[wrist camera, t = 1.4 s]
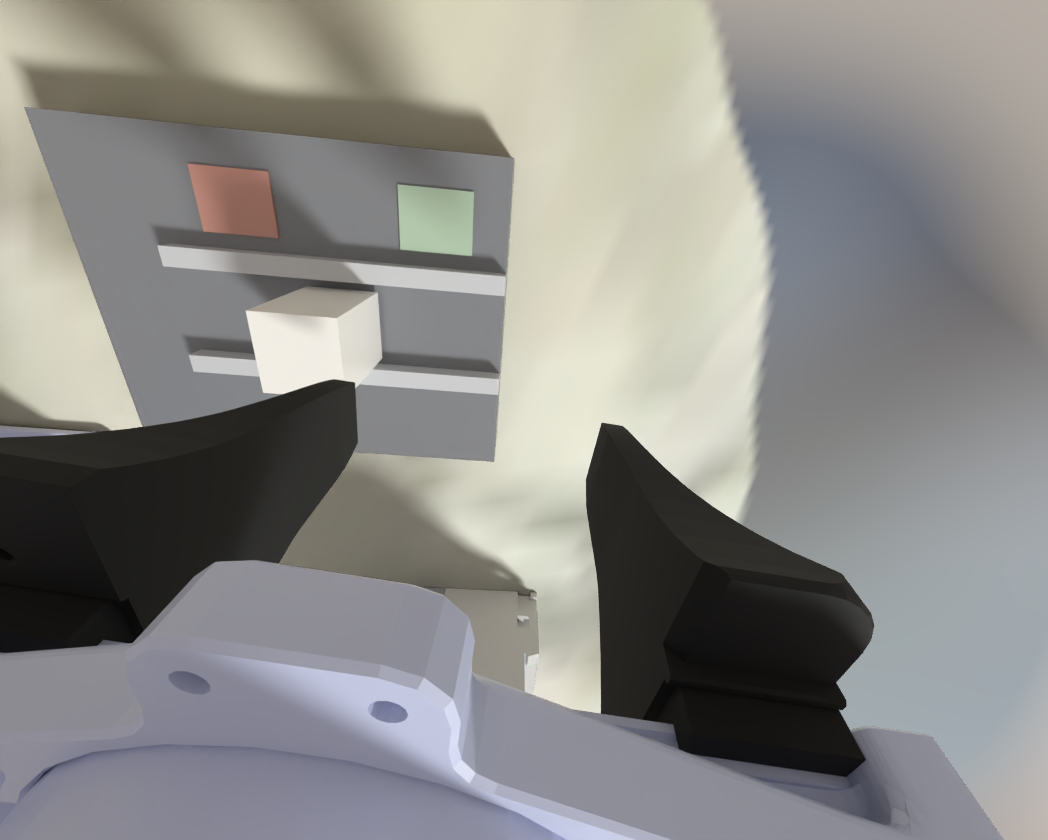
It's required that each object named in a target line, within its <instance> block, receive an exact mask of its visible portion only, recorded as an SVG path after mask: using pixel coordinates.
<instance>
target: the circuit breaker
mask: <svg viewBox="0 0 1048 840" xmlns="http://www.w3.org/2000/svg"><path fill="white" fill-rule="evenodd" d="M423 588H425V589H428V590H431V591H434V592H437V593H439V594H442V595H444V596H445V597H446V598H447V599H449V600H450V601H451V602H452V603H453V604H454V605H455V606H457V607H458V608H459V609H460V610H461V611H462V612H463V613H465V614H466V615H467V616H468V617H469V620H470V623H471V627H472V631H473V635H474V638H475V644H474V651H473V657H472V672H473V673H476V674H478V675H481V676H484V677H486V678H489V679H492V680H494V681H497V682H500V683H502V684H505V685H508V686H510V687H513V688H516V689H518V690H521V691H524V692H527V693H529V694H532V695H533V690H534V683H535V677H536V670H537V664H538V657H539V640H538V617H537V609H536V598H537V593H536V592H530V596H521V595H518V592H516V591H495V590H475V589H455V588H446V589H445V588H433V587H423Z"/></svg>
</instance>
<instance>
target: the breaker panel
mask: <svg viewBox="0 0 1048 840" xmlns="http://www.w3.org/2000/svg"><path fill="white" fill-rule="evenodd" d="M24 108H25V110H26V113H27V116H28V118H29V121H30V124H31V127H32V129H33V132H34V135H35V137H36V140H37V143H38V145H39V148H40V151H41V154H42V156H43V159H44V162H45V164H46V167H47V170H48V172H49V175H50V178H51V181H52V183H53V186H54V189H55V191H56V194H57V197H58V199H59V202H60V205H61V208H62V210H63V213H64V216H65V218H66V221H67V224H68V226H69V229H70V232H71V235H72V237H73V240H74V243H75V245H76V248H77V251H78V253H79V256H80V259H81V262H82V264H83V267H84V270H85V272H86V275H87V278H88V280H89V283H90V286H91V288H92V291H93V294H94V297H95V299H96V302H97V305H98V307H99V310H100V313H101V315H102V318H103V321H104V324H105V326H106V329H107V332H108V334H109V337H110V340H111V342H112V345H113V348H114V351H115V353H116V356H117V359H118V361H119V364H120V367H121V369H122V372H123V375H124V378H125V380H126V383H127V386H128V388H129V391H130V394H131V396H132V399H133V402H134V405H135V407H136V410H137V413H138V415H139V418H140V421H141V423H142V426H143V427H145V426H152V425H158V424H165V423H171V422H178V421H183V420H188V419H193V418H198V417H203V416H207V415H212V414H216V413H220V412H224V411H228V410H232V409H236V408H239V407H242V406H246V405H249V404H253V403H256V402H260V401H263V400H266V399H270V398H273V397H276V396H279V395H282V394H273V393H263V390H262V386H261V381H260V376H259V372H258V367H257V362H256V357H255V353H254V348H253V343H252V339H251V334H250V329H249V325H248V320H247V315H246V310H248V309H251V308H253V307H256V306H258V305H261V304H263V303H266V302H268V301H271V300H273V299H276V298H278V297H281V296H284V295H286V294H289V293H291V292H294V291H296V290H299V289H301V288H304V287H306V286H312V287H323V288H335V289H346V290H358V291H369V292H378V303H379V317H380V331H381V346H382V359H381V360H380V361H379V362H378V364H377V365H376V366H375V367H374V368H373V369H372V370H371V372H370V373H369V374H368V375H367V376H366V377H365V378H364V379H363V381H362V382H361V383H360V384H359V385H358V386H357V387H356V389H355V390H356V411H357V432H358V444H357V446H356V448H355V450H354V452H360V453H374V454H389V455H403V456H418V457H432V458H447V459H461V460H476V461H490V462H494V457H495V447H496V434H497V419H498V404H499V389H500V374H501V359H502V344H503V329H504V314H505V299H506V284H507V268H508V253H509V238H510V223H511V208H512V193H513V178H514V163H515V162H514V158H511V157H501V156H491V155H482V154H472V153H463V152H453V151H443V150H434V149H424V148H414V147H405V146H395V145H385V144H376V143H366V142H356V141H347V140H337V139H327V138H318V137H308V136H299V135H289V134H279V133H270V132H260V131H250V130H241V129H231V128H221V127H212V126H202V125H192V124H183V123H173V122H163V121H154V120H144V119H135V118H125V117H115V116H106V115H96V114H86V113H77V112H67V111H57V110H48V109H38V108H28V107H24Z"/></svg>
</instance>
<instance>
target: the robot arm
mask: <svg viewBox="0 0 1048 840" xmlns="http://www.w3.org/2000/svg"><path fill="white" fill-rule="evenodd" d="M357 444H358V432H357V411H356V390H355V382H349V381H343V380H336V379H332V380H327V381H323V382H319V383H316V384H313V385H309V386H306V387H303V388H300V389H297V390H294V391H291V392H288V393H285V394H282V395H279V396H276V397H273V398H270V399H266V400H263V401H260V402H256V403H253V404H249V405H246V406H242V407H239V408H236V409H232V410H228V411H224V412H220V413H216V414H212V415H207V416H203V417H198V418H193V419H188V420H183V421H178V422H171V423H165V424H158V425H152V426H145V427H139V428H132V429H123V430H114V431H105V432H86V431H72V430H57V429H43V428H29V427H14V426H0V840H1004V839H1003V838H1002V837H1001V835H1000V834H999V832H998V831H997V829H996V828H995V826H994V825H993V823H992V822H991V821H990V819H989V818H988V817H987V815H986V813H985V812H984V810H983V809H982V808H981V806H980V805H979V803H978V802H977V800H976V799H975V797H974V796H973V795H972V793H971V792H970V790H969V789H968V787H967V786H966V784H965V783H964V782H963V780H962V779H961V778H960V776H959V774H958V773H957V771H956V770H955V769H954V767H953V766H952V764H951V763H950V761H949V760H948V759H947V757H946V756H945V754H944V753H943V751H942V750H941V748H940V747H939V745H938V744H937V743H936V741H935V740H934V738H933V737H930V736H928V735H926V734H920V733H913V732H906V731H900V730H893V729H886V728H880V727H860V728H856V729H853V730H851V731H850V729H849V728H848V726H847V724H846V722H845V720H844V719H843V717H842V715H841V713H840V711H839V710H843V709H844V708H845V707H846V699H845V698H844V696H843V694H842V692H841V690H840V689H839V687H838V685H837V684H836V682H837V681H838V680H839V679H840V678H841V676H842V675H843V674H844V673H845V672H846V671H847V670H848V669H849V668H850V666H851V665H852V664H853V663H854V662H855V661H856V660H857V659H858V658H859V656H860V655H861V654H862V653H863V651H864V650H865V648H866V647H867V645H868V644H869V642H870V640H871V638H872V634H873V629H874V623H873V619H872V615H871V613H870V611H869V610H868V608H867V607H866V606H865V604H864V603H863V602H862V600H861V599H860V598H859V596H858V595H857V594H856V592H855V591H854V589H853V588H852V587H851V585H850V584H849V583H848V582H847V580H846V579H845V577H844V576H843V575H842V574H841V573H839V572H837V571H835V570H832V569H830V568H828V567H826V566H823V565H821V564H819V563H816V562H814V561H812V560H810V559H807V558H805V557H803V556H800V555H798V554H796V553H793V552H791V551H789V550H787V549H785V548H783V547H781V546H779V545H777V544H775V543H774V542H772V541H770V540H768V539H766V538H764V537H762V536H760V535H758V534H756V533H755V532H753V531H751V530H749V529H748V528H746V527H744V526H743V525H741V524H739V523H738V522H736V521H734V520H733V519H731V518H730V517H728V516H726V515H725V514H723V513H722V512H720V511H719V510H717V509H716V508H714V507H713V506H711V505H710V504H708V503H707V502H706V501H704V500H703V499H702V498H700V497H699V496H698V495H696V494H695V493H694V492H692V491H691V490H690V489H688V488H687V487H686V486H685V485H684V484H682V483H681V482H680V481H679V480H678V479H677V478H676V477H674V476H673V475H672V474H671V473H670V472H669V471H668V470H667V469H665V468H664V467H663V466H662V465H661V464H660V463H659V462H658V461H657V460H656V459H655V458H654V457H653V456H652V455H651V454H650V453H649V452H648V451H647V450H646V449H645V448H644V447H643V446H642V445H641V444H640V443H639V442H638V441H637V440H636V438H635V437H634V436H633V435H632V434H631V433H630V432H629V431H628V430H626V429H625V428H624V427H623V426H619V425H613V424H607V423H602V424H601V428H600V431H599V435H598V438H597V442H596V445H595V449H594V453H593V456H592V460H591V463H590V467H589V471H588V474H587V478H586V508H587V515H588V521H589V528H590V534H591V541H592V547H593V553H594V559H595V566H596V572H597V581H598V594H599V616H600V650H601V714H599V713H593V712H586V711H579V710H572V709H569V708H567V707H564V706H561V705H559V704H556V703H553V702H551V701H548V700H545V699H543V698H540V697H537V696H535V695H532V694H529V693H527V692H524V691H521V690H518V689H516V688H513V687H510V686H508V685H505V684H502V683H500V682H497V681H494V680H492V679H489V678H486V677H484V676H481V675H478V674H476V673H473V672H472V657H473V651H474V644H475V638H474V635H473V631H472V627H471V623H470V620H469V617H468V616H467V615H466V614H465V613H463V612H462V611H461V610H460V609H459V608H458V607H457V606H455V605H454V604H453V603H452V602H451V601H450V600H449V599H447V598H446V597H445V596H444V595H442V594H439V593H437V592H434V591H431V590H428V589H425V588H422V587H419V586H416V585H413V584H408V583H401V582H395V581H388V580H382V579H375V578H369V577H362V576H356V575H349V574H343V573H336V572H330V571H323V570H317V569H310V568H304V567H297V566H291V565H284V564H279V562H280V560H281V559H282V557H283V555H284V553H285V552H286V550H287V548H288V547H289V545H290V543H291V541H292V540H293V538H294V537H295V535H296V534H297V532H298V531H299V529H300V528H301V527H302V525H303V524H304V523H305V521H306V520H307V519H308V517H309V516H310V515H311V513H312V512H313V511H314V509H315V508H316V507H317V505H318V504H319V503H320V501H321V500H322V499H323V497H324V496H325V495H326V493H327V492H328V491H329V489H330V488H331V487H332V485H333V484H334V482H335V481H336V480H337V478H338V477H339V476H340V474H341V473H342V471H343V470H344V468H345V467H346V465H347V463H348V461H349V459H350V458H351V456H352V454H353V452H354V450H355V448H356V446H357Z"/></svg>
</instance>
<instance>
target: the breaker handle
mask: <svg viewBox="0 0 1048 840" xmlns="http://www.w3.org/2000/svg"><path fill="white" fill-rule="evenodd" d="M246 315H247V320H248V325H249V329H250V334H251V339H252V343H253V348H254V353H255V357H256V362H257V367H258V372H259V376H260V381H261V386H262V390H263V393H273V394H285V393H288V392H291V391H294V390H297V389H300V388H303V387H306V386H309V385H313V384H316V383H319V382H323V381H327V380H332V379H336V380H343V381H349V382H355V389H356V387H357V386H358V385H359V384H360V383H361V382H362V381H363V379H364V378H365V377H366V376H367V375H368V374H369V373H370V372H371V370H372V369H373V368H374V367H375V366H376V365H377V364H378V362H379V361H380V360H381V359H382V346H381V331H380V317H379V303H378V292H369V291H358V290H346V289H335V288H323V287H312V286H306V287H304V288H301V289H299V290H296V291H294V292H291V293H289V294H286V295H284V296H281V297H278V298H276V299H273V300H271V301H268V302H266V303H263V304H261V305H258V306H256V307H253V308H251V309H248V310H246Z"/></svg>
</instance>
